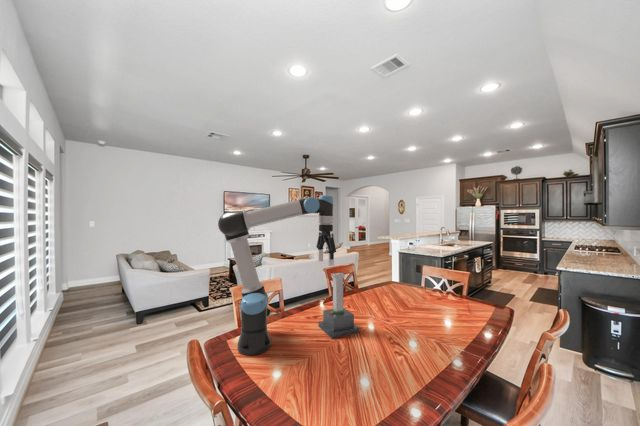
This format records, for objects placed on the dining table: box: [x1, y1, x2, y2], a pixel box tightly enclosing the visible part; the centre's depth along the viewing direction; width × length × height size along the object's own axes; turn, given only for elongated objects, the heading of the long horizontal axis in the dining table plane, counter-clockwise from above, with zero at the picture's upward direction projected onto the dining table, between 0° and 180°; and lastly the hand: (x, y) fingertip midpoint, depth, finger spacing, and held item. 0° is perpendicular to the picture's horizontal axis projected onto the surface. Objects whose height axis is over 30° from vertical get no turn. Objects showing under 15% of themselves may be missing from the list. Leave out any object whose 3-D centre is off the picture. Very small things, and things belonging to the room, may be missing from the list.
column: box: [330, 272, 345, 315], centre depth 141 cm, size 6×4×24 cm
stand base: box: [318, 307, 360, 340], centre depth 141 cm, size 16×16×10 cm
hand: (325, 263), depth 143 cm, fingers open, 13 cm apart
